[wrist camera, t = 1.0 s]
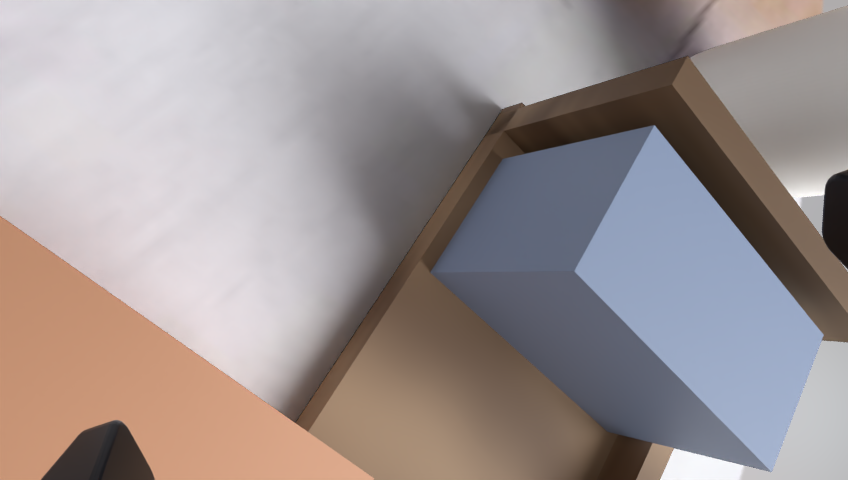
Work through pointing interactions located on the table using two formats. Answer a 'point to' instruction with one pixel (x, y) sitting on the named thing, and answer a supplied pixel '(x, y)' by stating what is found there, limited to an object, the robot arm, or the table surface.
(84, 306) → the light orange box
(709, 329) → the pale blue box
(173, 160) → the table surface
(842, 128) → the beverage can
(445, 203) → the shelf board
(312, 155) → the table surface
